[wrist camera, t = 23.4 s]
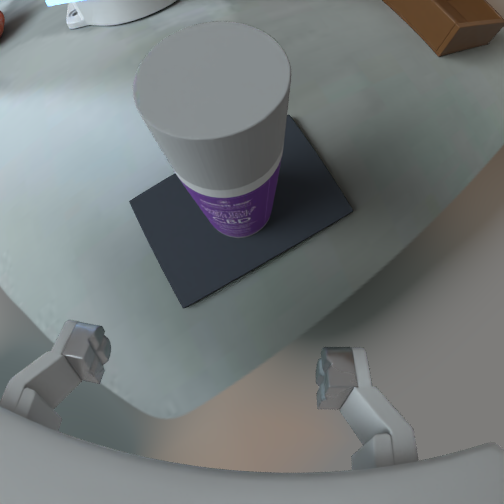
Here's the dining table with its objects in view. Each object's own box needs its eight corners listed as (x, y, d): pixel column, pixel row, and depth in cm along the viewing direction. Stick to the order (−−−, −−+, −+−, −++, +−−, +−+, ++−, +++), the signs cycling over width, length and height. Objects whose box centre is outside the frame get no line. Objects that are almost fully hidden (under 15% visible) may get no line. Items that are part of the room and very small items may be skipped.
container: (222, 249, 22) (156, 175, 7) (196, 190, 23) (113, 56, 8) (283, 221, 22) (328, 103, 7) (255, 164, 23) (251, 3, 8)
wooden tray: (368, -11, 26) (379, -42, 21) (427, -16, 27) (439, -40, 21) (438, 56, 25) (459, 27, 19) (487, 44, 25) (506, 22, 20)
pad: (131, 203, 23) (128, 201, 23) (288, 117, 24) (289, 114, 23) (184, 308, 22) (183, 308, 22) (351, 212, 23) (353, 210, 22)
